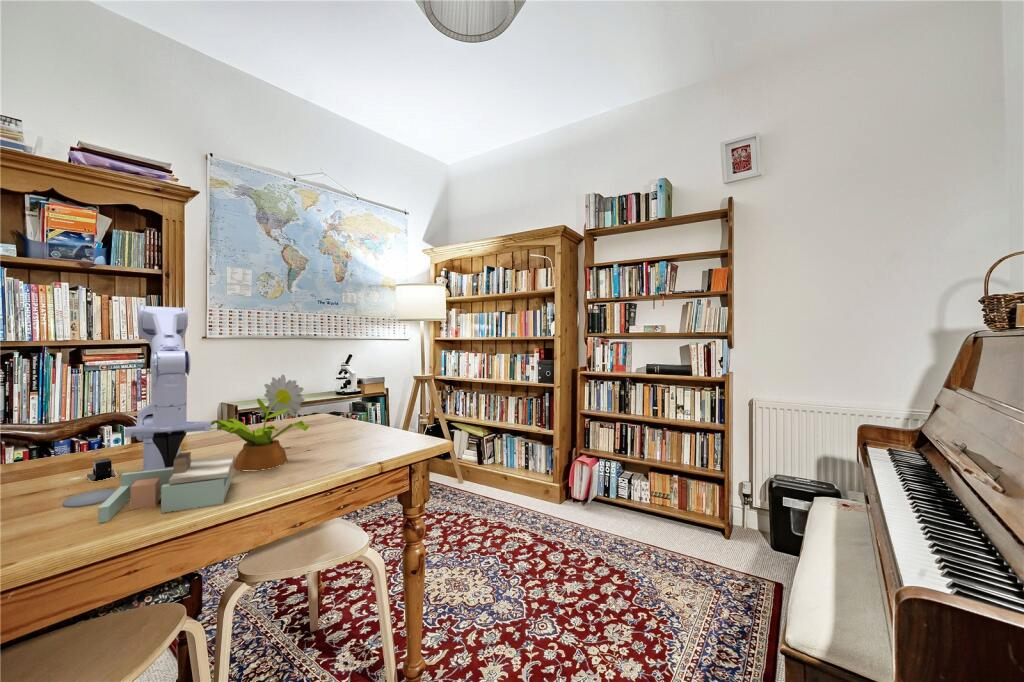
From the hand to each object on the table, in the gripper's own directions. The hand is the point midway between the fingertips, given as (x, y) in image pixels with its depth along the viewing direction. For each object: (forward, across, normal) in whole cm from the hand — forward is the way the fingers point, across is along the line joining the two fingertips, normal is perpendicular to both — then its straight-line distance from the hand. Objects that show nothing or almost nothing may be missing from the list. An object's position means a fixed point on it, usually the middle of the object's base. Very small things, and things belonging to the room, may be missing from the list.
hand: (169, 466), depth 89 cm
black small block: (+9, -19, +27) cm, 34 cm away
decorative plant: (+8, +15, +21) cm, 27 cm away
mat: (+8, -15, +9) cm, 19 cm away
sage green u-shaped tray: (+8, 0, 0) cm, 8 cm away
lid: (+2, +6, 0) cm, 7 cm away
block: (+8, -4, 0) cm, 9 cm away
